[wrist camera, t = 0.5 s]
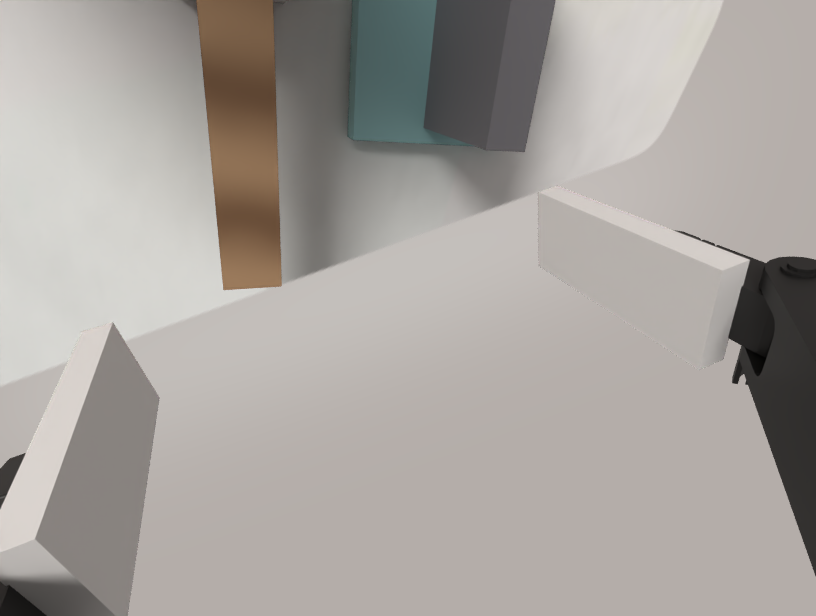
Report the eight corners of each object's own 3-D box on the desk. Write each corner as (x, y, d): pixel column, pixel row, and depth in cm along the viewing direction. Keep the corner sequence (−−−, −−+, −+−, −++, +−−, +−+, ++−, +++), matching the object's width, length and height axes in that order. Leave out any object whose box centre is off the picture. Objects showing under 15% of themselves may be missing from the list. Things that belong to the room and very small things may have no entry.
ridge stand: (347, 136, 31) (397, 167, 23) (359, -193, 24) (439, -323, 15) (500, 144, 35) (589, 173, 27) (550, -132, 28) (692, -208, 20)
